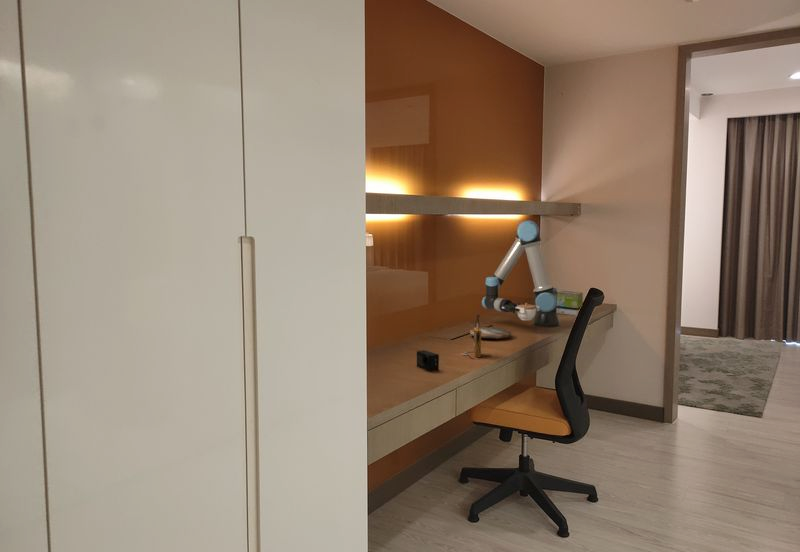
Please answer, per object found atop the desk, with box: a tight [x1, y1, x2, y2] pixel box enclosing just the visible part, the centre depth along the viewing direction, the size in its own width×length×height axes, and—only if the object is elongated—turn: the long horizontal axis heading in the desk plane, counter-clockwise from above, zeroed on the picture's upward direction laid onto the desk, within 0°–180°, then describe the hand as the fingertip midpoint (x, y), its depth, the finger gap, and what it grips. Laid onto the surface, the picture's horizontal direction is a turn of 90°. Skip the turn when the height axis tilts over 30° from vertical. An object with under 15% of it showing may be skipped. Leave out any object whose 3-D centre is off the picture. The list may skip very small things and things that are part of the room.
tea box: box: [557, 290, 584, 316], centre depth 413 cm, size 15×10×15 cm
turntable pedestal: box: [481, 337, 499, 340], centre depth 334 cm, size 10×10×1 cm
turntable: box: [469, 326, 512, 339], centre depth 334 cm, size 22×22×2 cm
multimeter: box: [461, 313, 482, 360], centre depth 290 cm, size 15×10×20 cm
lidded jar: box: [516, 302, 537, 321], centre depth 343 cm, size 11×11×9 cm
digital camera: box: [416, 349, 440, 372], centre depth 267 cm, size 10×5×7 cm, turn 36°
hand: (531, 309), depth 340 cm, fingers closed on lidded jar, 11 cm apart
